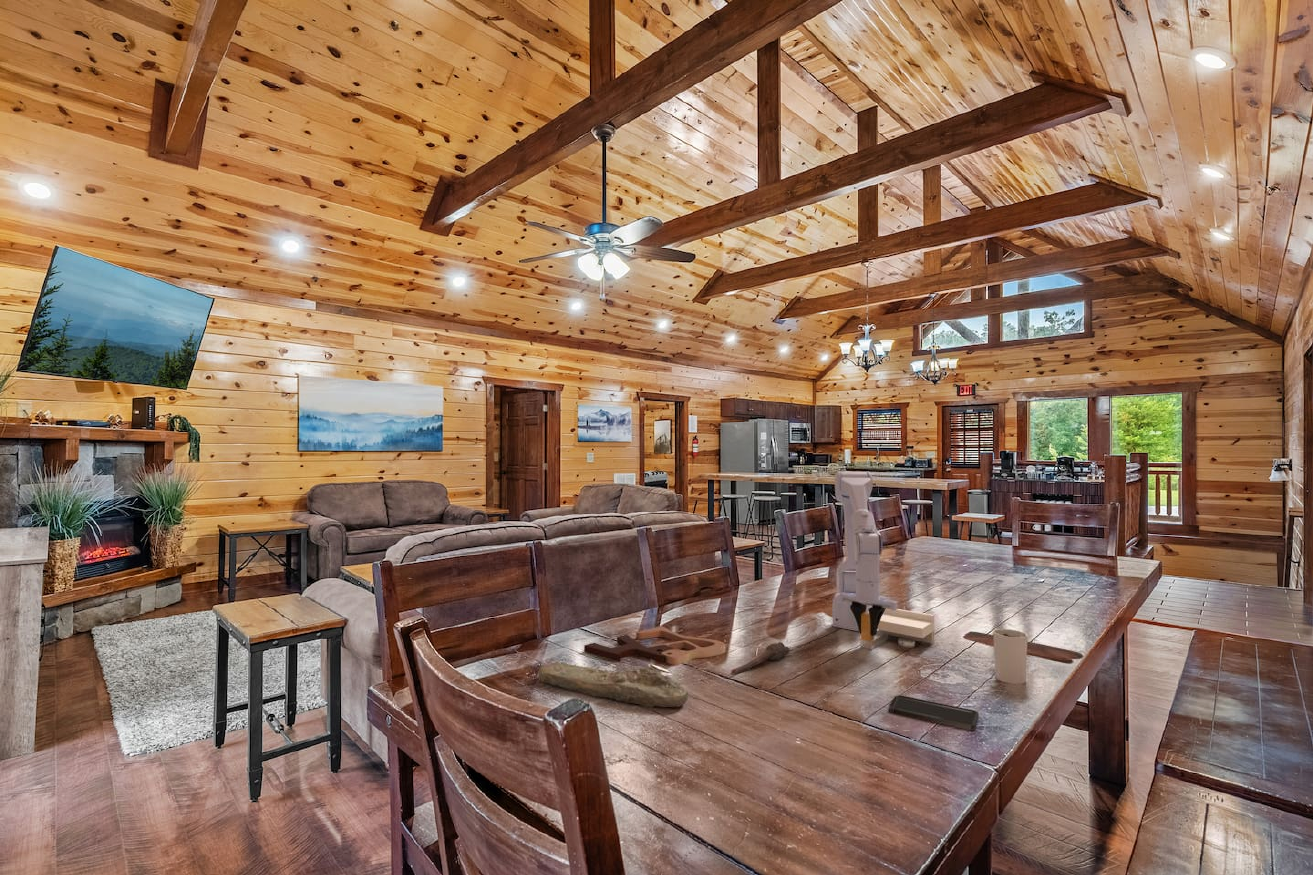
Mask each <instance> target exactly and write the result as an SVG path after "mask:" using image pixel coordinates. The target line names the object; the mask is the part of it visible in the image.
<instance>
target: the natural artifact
mask: <svg viewBox="0 0 1313 875" xmlns="http://www.w3.org/2000/svg"><path fill="white" fill-rule="evenodd" d="M790 650H791V648H790V647H788V646H786V645H785V644H784V642H782V641H779V642H777V643H776V642H775V643H771V644H769V645H767V647H766V648H765V650H764V652H763V653H762V654H760V655H759V656H757V657H756V658H754V659H753V660H751V661H749V662H748V663H746V664H744V665H741V666H739V667H735V668H733V669H732V670H730V671H731V672H730V673H731V674H732V675H737V674H739V673H742V672H745V671H748V670H750V669H751V668H753V667H754V666H756V665H757V664H759V663H761V662H762V661H764V660H767V659H769V660H772V661H779V660H781V659H782V658H783V659H785V658H786V655H788V654H789V651H790Z"/></svg>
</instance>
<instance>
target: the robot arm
mask: <svg viewBox="0 0 1313 875" xmlns="http://www.w3.org/2000/svg"><path fill="white" fill-rule="evenodd" d="M873 482H874V481H873V475H872V473H871V471H840V470H838V471H837V472H835V474H834V492H835V493H834V494H835V498H836V501H837V502H840V503H841V505H842V509H843V516H844V517H843V518H844V538H845V559H846V560H844V561H842V562H841V563H840V564H839V565H838V566H837V568H836V576H835V577H836V583H835V584H836V591H837V592H836V593H835V595H834V597H833V598H832V623H831V626H832V627H835V628H840V629H846V630H850V631H855V632H858V633H859V634H861V614H862V613H864V612H867V613H869V615H870V633H871V636H874V635H876V634H877V630H878V629H877V628H878V625H879V622H880V619H881V617H882V615H883V613H884V611H885V609H886V608H887V609H891V610H894V611H895V610H897V609H899V607H898V604H899V603H898V601H897V600H892V599H888V598H884V597H881V596H880V594H881V593H880V556H882V553H883V540H882V539H883V538H882V535H881V532H879V530H877V527H876V522H875V519H874V518H875V517H874V514H873V513H872V512H871V511H870V510H868V502H869V498H870V497H871V493H872V491H873V485H874V483H873ZM869 606H870V607H869Z"/></svg>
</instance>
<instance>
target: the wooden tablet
mask: <svg viewBox="0 0 1313 875" xmlns="http://www.w3.org/2000/svg"><path fill="white" fill-rule="evenodd" d="M962 638H963V640H968V641H969V642H974V643H978V644H982V645H987V646H990V647H994V637H993V634H990V633H984V632H980V631H969V632H967V633H965V634H964V635H963V636H962ZM1027 655H1030V656H1035V657H1039V658H1042V659H1047V660H1052V661H1055V662H1061V663H1066V664H1072V663H1074V660H1080V659H1082V658H1083V657H1084V655H1083V654H1082V652H1077V651H1076V650H1070V649H1065V648H1061V647H1056V646H1052V645H1047V644H1042V643H1036V642H1032V641H1028V640H1027Z"/></svg>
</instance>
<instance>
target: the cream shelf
mask: <svg viewBox="0 0 1313 875" xmlns="http://www.w3.org/2000/svg"><path fill="white" fill-rule="evenodd" d="M877 630H879V631H884V632H888V636H892V637H896V638H897V637H898V638H910V639H913V640H915V642H916V641H917V642H920V643H921V642H922V643H925V644H931V645H932V644H933V643H935V615H934V614H929V613H924V612H918V611H912V610H907V609H901V608H898V609H897V610H895V611H894V610H891V609H887V608H886V609H885V611H884V613H883V615H882V617H881V619H880V622H879V625H878V628H877Z"/></svg>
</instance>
